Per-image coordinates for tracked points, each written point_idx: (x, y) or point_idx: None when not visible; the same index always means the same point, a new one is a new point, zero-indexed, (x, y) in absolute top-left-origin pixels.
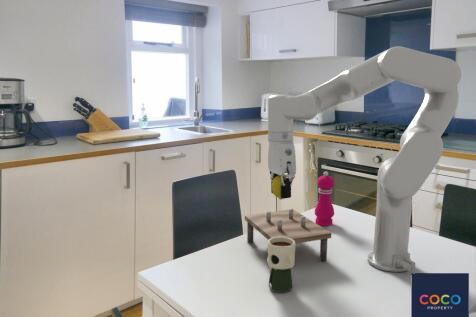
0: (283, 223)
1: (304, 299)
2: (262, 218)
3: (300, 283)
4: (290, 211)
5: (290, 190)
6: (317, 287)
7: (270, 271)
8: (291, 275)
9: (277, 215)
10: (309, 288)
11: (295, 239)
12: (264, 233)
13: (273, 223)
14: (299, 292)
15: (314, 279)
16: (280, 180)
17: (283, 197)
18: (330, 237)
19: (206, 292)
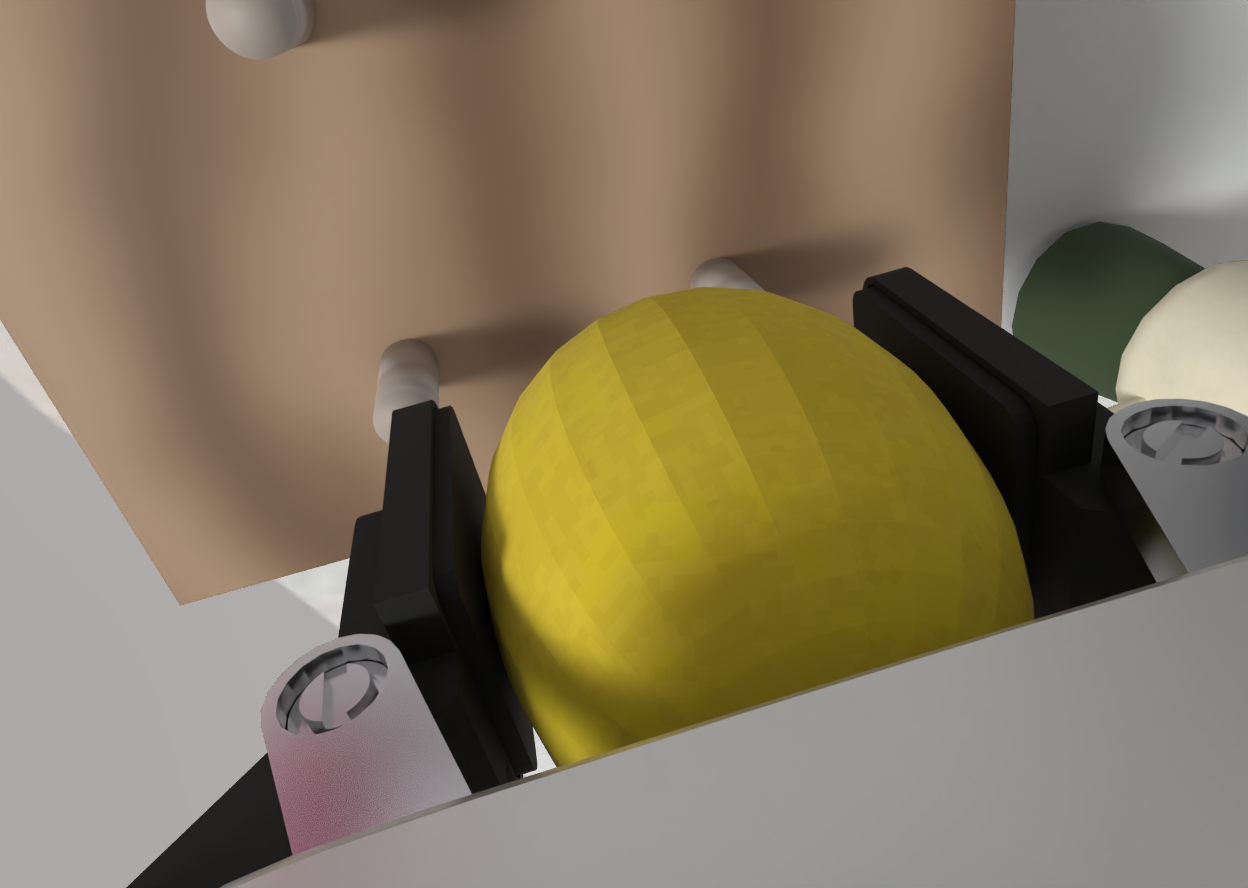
0: (512, 189)
1: (1239, 177)
2: (299, 423)
3: (1072, 143)
4: (297, 36)
5: (992, 337)
6: (1169, 31)
7: (1107, 397)
8: (1188, 259)
9: (147, 200)
10: (1153, 98)
11: (1003, 166)
12: None
13: (499, 319)
14: (1162, 185)
15: (1067, 9)
16: None
17: None
18: None
19: None
